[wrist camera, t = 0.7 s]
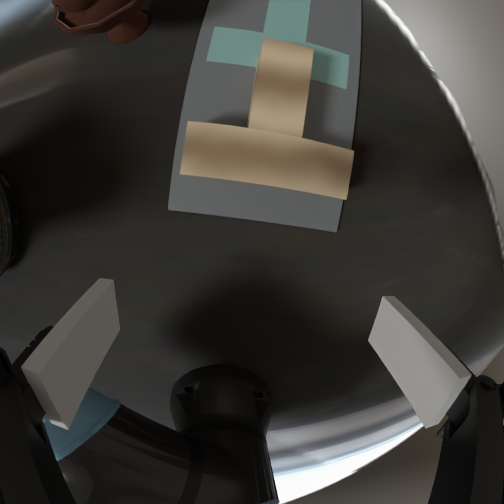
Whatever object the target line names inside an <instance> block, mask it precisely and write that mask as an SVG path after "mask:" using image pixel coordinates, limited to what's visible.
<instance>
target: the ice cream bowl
mask: <svg viewBox="0 0 504 504" xmlns="http://www.w3.org/2000/svg"><path fill="white" fill-rule="evenodd" d="M146 1H147V0H52V4H53V5H54V7H55V13H54V19H53V23H55V24H56V25H57V26H59V27H60V28H61V29H62V30H64V31H65V32H66V33H69V34H71V35H74V36H84V35H89V34H95V33H102V32H108V34H107V36H108V39H110V40H111V41H112V42H114V43H115V44H117V43H128V42H130V41H131V40H133V39H135V38H137V37H138V36H140V35H141V34H142V33H143V31H144V30H145V29H146V27H147V26H148V15H147V14H145V13H144V12H142V11H140V9H141V7H142V6H143V5H144V4H145V3H146Z"/></svg>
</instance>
